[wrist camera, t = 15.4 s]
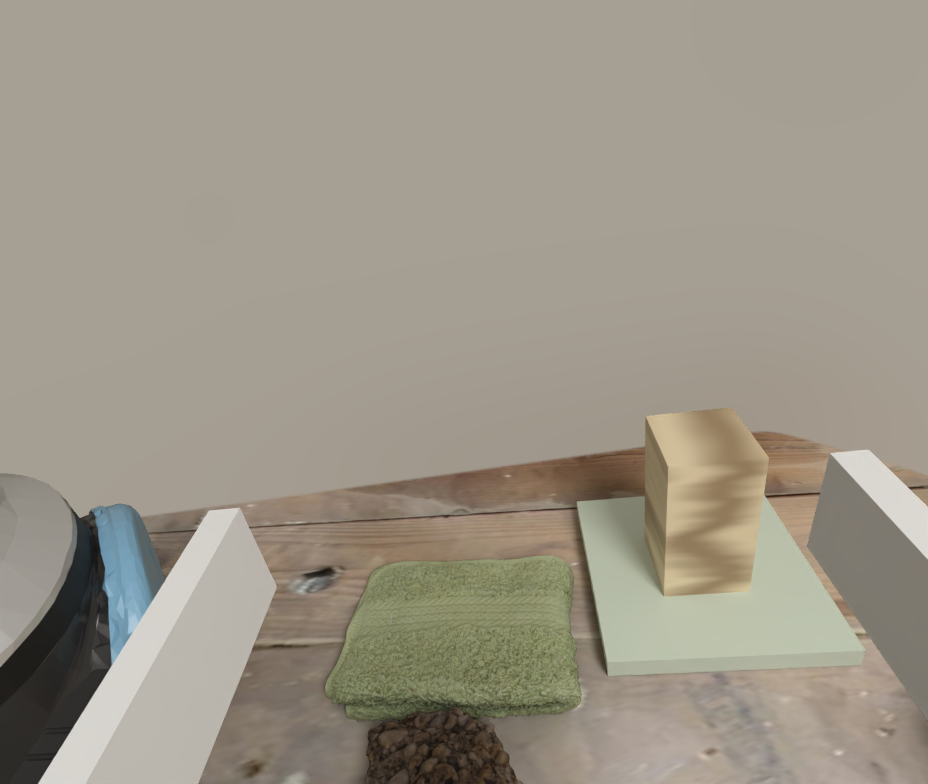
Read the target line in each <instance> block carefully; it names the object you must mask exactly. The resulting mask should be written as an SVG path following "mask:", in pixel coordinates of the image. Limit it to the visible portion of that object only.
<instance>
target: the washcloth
mask: <svg viewBox="0 0 928 784" xmlns="http://www.w3.org/2000/svg"><path fill="white" fill-rule="evenodd" d="M573 584H574V577H573V572H572V570H571V567H570V566H569V565H568V563H567V562H565V561H564V560H563V559H561V558H559V557H556V556H551V555H546V556H533V557H524V558H521V559H504V560H501V559H499V560H495V559H480V560H463V561H447V562H435V561H428V562H424V561H405V562H397V563H393V564H390V565H387V564H386V565H385V566H381V567H379V568H377V569H376V570H375V571H373V572H372V574H371V576H370V578H369V581H368V584H367V587H366V589H365V592H364V594H363V596H362V598H361V600H360V602H359V604H358V606H357V609H356V611H355V612H354V615H353V617H352V619H351V621H350V624H349V626H348V628H347V631H346V641H345V644H344V647H343V650H342V653H341V655H340V657H339V660H338V662H337V664H336V666H335V668H334V669H333V671H332V672H331V674H330V676H329V677H328V679H327V681H326V685H325V694H326V696H327V697H328V698H329V699H332V703H337V704H343V703H344V704H345V703H346V706H345V707H346V715H347V717H348V718H350V719H356V720H357V721H358V722H360V721H364V720H371V721H373V720H380V721H382V720H387V719H393V718H394V719H395V720H403V719H405V718H406V717H408V716H409V715H410V714H414V713H415V712H416V711H417V710H418V711H422V712H427V713H432V712H436V711H440V710H450V709H452V708H453V707H456V708H457V707H460V708H461V710H462V712H463V713H468V714H469V715H470V717H474V718H477V719H478V718H482V717H483V716H487V717H492V716H493V717H494V718H498V717H503V718H505V717H506V716H508V715H511V716H513V715H514V716H516V717H517V716H518V715H526V714H528V715H530V716H532V715H539V714H544V713H545V714H546V713H551V714H558V713H559V714H561V713H564V712H565V711H566V710H569V709H572V708H575V707H577V706H578V705H579V704H580V702H581V695H582V694H581V691H580V683H579V681H578V678H579V677H578V671H577V668H578V665H577V662H576V661H575V655H576V649H577V648H576V646H575V645H576V642H575V640H574V638H573V637H572V634H571V626H570V618H569V616H570V615H569V612H570V611H571V607H572V603H571V602H572V599H573V597H572V593H573Z"/></svg>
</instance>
